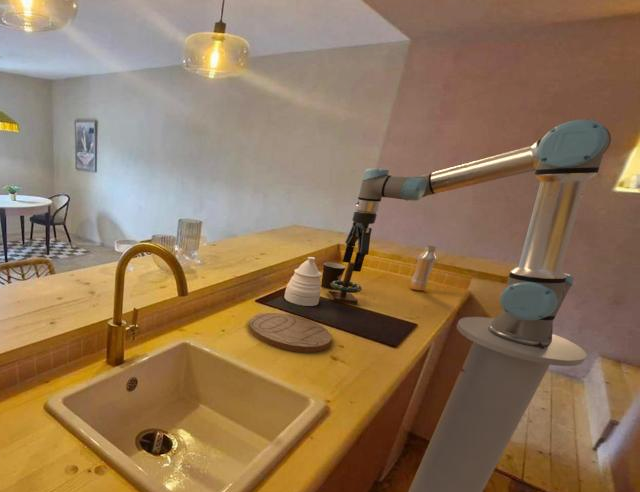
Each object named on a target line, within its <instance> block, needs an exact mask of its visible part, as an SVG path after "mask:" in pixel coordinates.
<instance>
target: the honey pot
mask: <svg viewBox="0 0 640 492" xmlns="http://www.w3.org/2000/svg"><path fill="white" fill-rule="evenodd" d="M315 260H316V257H313V256H307V260H305V261H303V262H302V263H301V264H300V265H299V267H298V268H295V269H294V273H293V275H292V276H291V277H290V280H289V282H288V283H287V285H286V287H285V291H284V299H285V300H286V301H287V302H288V303H291V304H294V305H298V306H302V307H303V306H305V307H315V306H317V305H319V302H320V299H321V298H320V297H321V294H322V286H321V284H322V281H321V279H320V278H322V275H323V273H322V272H320V271H319V269H318V265H317V264H316V262H315Z"/></svg>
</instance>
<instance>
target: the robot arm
mask: <svg viewBox="0 0 640 492" xmlns="http://www.w3.org/2000/svg"><path fill="white" fill-rule="evenodd" d="M611 135H612V134H611V133H610V131H609V130H608V128H607V127H606V126H604V124H602V123H601V122H600V121H597V120H594V119H575V120H570V121H565V122H563V123H561V124H559V125H556V126H555V127H553V128H552V129H550V130H549V131H548V132H547V133H546V134H545V135H544V136H543V137H542V138H541V139H538V140H536V141H535V142H534V143H533V144H532V145H529V146H525V147H522V148H518V149H515V150H511V151H507V152H503V153H499V154H496V155H491V156H488V157H485V158H481V159H477V160H474V161H470V162H466V163H463V164H459V165H455V166H452V167H448V168H445V169H440V170H436V171H434V172H431V173H426V174H422V175H419V176H418V175H417V176H401V175H390V170H389V169H386V168H385V169H384V168H371V167H370V168H367V169H366V170H365V172H364V174H363V179H362V180H361V185H360V189H359V194H358V197H357V200H356V202H355V203H354V204H355V211H354V212H353V216H352V225H351V229H350V231H349V233H348V235H347V238H346V240H345V241H344V242H345V244H346V247H345V251H344V255H343V258H342V263H347V264H348V262H352V257H353V254H354V250H355V247H356V243H357V252H356V253H355V258H354V261H353V263H354V265H353V269H352V271H353V272H357V273H358V272H359V273H361V272H362V268H363V264H364V260H365V257H366V256H368V255H369V253H370V243H371V234H372V230H373V228H372V227H369V225H374V224H375V223H376V219H377V216H378V214H377V213H379V209H380V206H381V203H382V198H388V199H394V200H396V199H397V200H403V201H407V202H408V201H415V202H416V201H419V200H421V199H422V198H425V197H427V196H432V195H435V194H439V193H443V192H449V191H452V190H457V189H461V188H466V187H470V186H474V185H478V184H482V183H487V182H490V181H491V182H492V181H495V180H499V179H503V178H508V177H513V176H517V175H521V174H525V173H529V172H534V171H535V172H534V177H535V178H536V179H537V180H538V181H539V187H538V190H537V192H536V193H537V194H536V198H535V200H534V201H535V202H534V205H533V209H532V213H531V216H530V220H529V225H528V228H527V232H526V236H525V239H524V243H523V247H522V251H521V255H520V259H519V263H518V265H517V266H516V267H514V268H512V269H511V270H509V274H508V277H507V281H506V285H505V288H504V289H503V290H502V292H501V293H500V297H499V303H500V307H501V308H502V311H501V312H500V313H499V314H498V315H497V316H496V317H495V318H494V321H492V322H491V323H490V325H489V327H488V330H489V331H490V332H491V333H492V334H494V335H496V336H498V337H500V338H503V339H505V340H508V341H511V342H515V343H518V344H522V345H527V346H533V347H541V349H544V347H548V346H550V344H551V342H552V334H553V327H554V326H553V323H554V320H555V318H556V316H557V314H558V313H559V310H560V308H561V307H562V304H563V303H564V300H565V299H566V296H567V295H568V292H569V291H570V289H571V288H572V286H573V282H574V280H575V278H574V276H573V275H572V274H569V273H565V272H564V271H563V270H562V267H563V264H564V260H565V257H566V253H567V249H568V245H569V242H570V239H571V236H572V232H573V229H574V226H575V222H576V219H577V215H578V211H579V208H580V206H581V201H582V198H583V196H584V195H583V194H584V191H585V187H586V185H587V181H589V180H590V179H592V178H593V177H595V176H597V175H598V173H599V170H600V166H601V164H602V160H603V157H604V154H605V153H606V152H607V150H609V147H610V146H611V142H612V136H611Z"/></svg>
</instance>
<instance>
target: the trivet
mask: <svg viewBox="0 0 640 492" xmlns="http://www.w3.org/2000/svg"><path fill="white" fill-rule="evenodd" d="M248 330H249V332H250V333H251V335H252V336H253V337H254V338H256V339H258V340H259V341H261V342H262V343H265V344H267V345H269V346H271V347H275V348H277V349H280V350H281V349H282V350H285V351H290V352H298V353H316V352H317V353H318V352H322V351H324V350H326V349H328V348H329V347H330V346H331V342H332V334H331V333H330V331H329V330H328V329H327V328H326V327H324V326H323V325H321V324H319V323H317V322H315V321H314V320H311V319H307V318H306V317H302V316H298V315H296V314H295V315H294V314H288V313H281V312H264V313H259V314H258V313H257V314H256V315H253V316H252V317H250V319H249V323H248Z"/></svg>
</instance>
